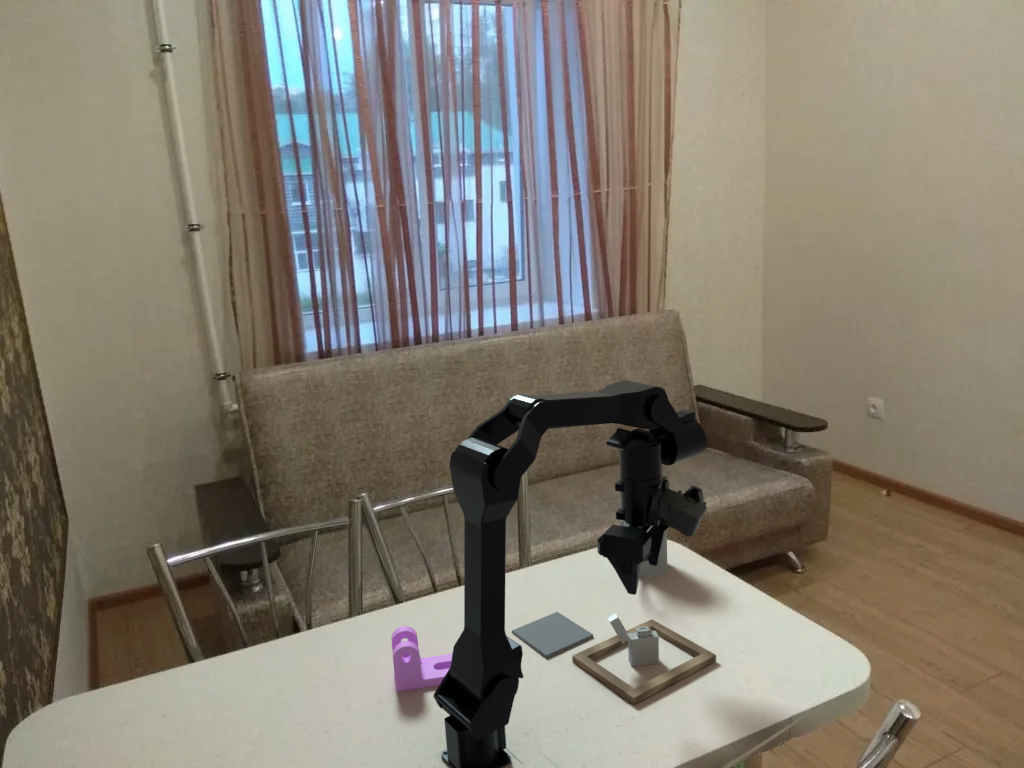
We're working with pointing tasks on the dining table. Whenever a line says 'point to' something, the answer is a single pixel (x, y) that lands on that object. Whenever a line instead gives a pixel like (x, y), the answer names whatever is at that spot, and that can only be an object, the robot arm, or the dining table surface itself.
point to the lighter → (638, 643)
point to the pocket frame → (653, 685)
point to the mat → (552, 634)
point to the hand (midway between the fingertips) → (643, 578)
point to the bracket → (415, 662)
